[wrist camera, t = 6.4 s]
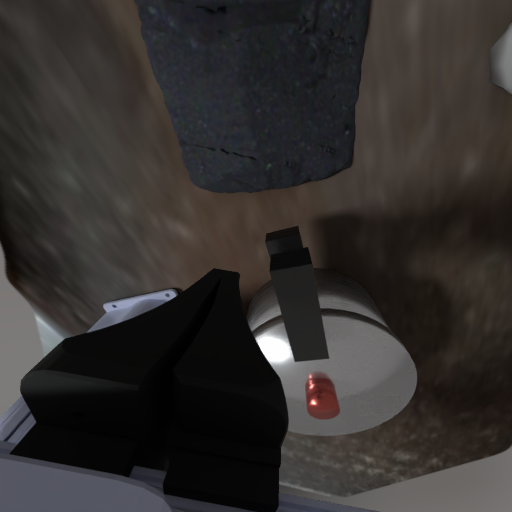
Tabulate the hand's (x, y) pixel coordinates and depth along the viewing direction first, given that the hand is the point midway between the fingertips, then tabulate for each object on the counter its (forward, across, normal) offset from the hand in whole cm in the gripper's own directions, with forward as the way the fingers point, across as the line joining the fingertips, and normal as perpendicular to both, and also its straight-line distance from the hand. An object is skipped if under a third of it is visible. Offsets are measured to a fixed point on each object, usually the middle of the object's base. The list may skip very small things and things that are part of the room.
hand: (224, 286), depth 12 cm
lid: (+4, -7, +8) cm, 11 cm away
